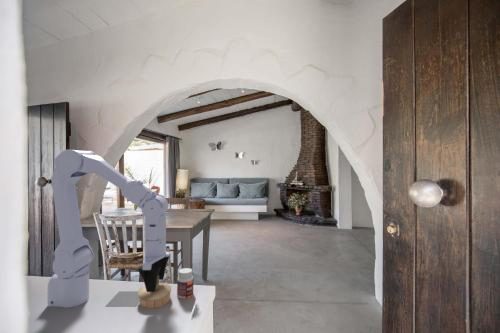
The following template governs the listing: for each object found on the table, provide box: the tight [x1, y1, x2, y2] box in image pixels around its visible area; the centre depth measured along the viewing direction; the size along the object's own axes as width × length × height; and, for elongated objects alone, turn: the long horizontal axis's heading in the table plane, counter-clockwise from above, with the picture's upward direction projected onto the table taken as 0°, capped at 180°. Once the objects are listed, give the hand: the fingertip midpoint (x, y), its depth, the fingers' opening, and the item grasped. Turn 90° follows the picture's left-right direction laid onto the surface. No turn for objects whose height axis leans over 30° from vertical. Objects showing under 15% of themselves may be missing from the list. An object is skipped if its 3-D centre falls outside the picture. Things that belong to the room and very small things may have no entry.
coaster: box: [105, 290, 140, 307], centre depth 78 cm, size 8×8×1 cm
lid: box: [137, 275, 172, 301], centre depth 77 cm, size 9×9×5 cm
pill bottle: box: [176, 267, 195, 300], centre depth 80 cm, size 5×5×8 cm
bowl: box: [139, 293, 171, 309], centre depth 77 cm, size 8×8×3 cm
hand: (155, 284), depth 77 cm, fingers open, 7 cm apart
